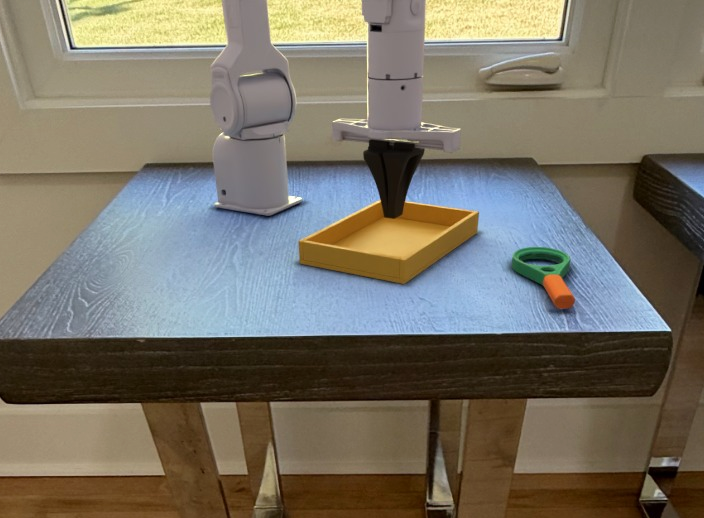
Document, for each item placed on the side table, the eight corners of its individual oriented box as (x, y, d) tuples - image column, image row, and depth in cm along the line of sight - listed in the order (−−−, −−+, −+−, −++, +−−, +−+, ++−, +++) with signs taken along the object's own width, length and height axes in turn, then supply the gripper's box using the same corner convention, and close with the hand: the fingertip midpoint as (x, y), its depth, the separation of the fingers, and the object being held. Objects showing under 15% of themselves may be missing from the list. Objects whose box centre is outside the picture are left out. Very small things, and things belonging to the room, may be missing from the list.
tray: (299, 263, 79) (298, 240, 77) (383, 218, 91) (383, 197, 90) (404, 284, 73) (404, 260, 72) (477, 232, 86) (479, 211, 84)
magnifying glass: (507, 257, 79) (508, 242, 78) (561, 257, 79) (564, 241, 77) (531, 312, 67) (533, 295, 66) (595, 312, 67) (598, 294, 66)
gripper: (314, 78, 72) (320, 216, 80) (443, 85, 66) (435, 234, 74) (349, 69, 77) (352, 201, 85) (473, 76, 71) (462, 217, 79)
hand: (393, 215), depth 80 cm, fingers closed
